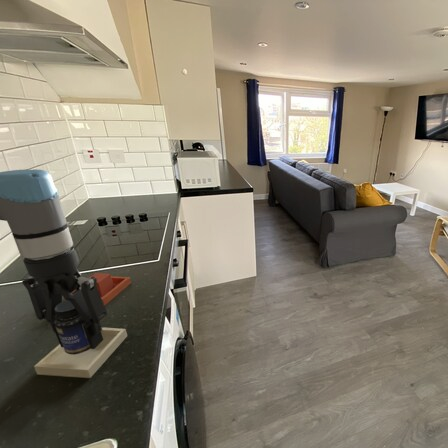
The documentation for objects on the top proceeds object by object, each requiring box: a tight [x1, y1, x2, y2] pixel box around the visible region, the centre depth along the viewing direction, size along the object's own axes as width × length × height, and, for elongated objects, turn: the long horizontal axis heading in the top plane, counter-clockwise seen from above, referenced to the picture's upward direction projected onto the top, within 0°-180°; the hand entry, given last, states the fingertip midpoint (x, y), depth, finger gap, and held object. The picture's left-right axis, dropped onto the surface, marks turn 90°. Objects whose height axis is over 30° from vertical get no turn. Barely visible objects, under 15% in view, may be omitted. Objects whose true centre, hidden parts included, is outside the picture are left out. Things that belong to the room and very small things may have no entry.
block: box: [87, 272, 114, 297], centre depth 80 cm, size 5×5×5 cm
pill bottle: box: [54, 300, 91, 355], centre depth 57 cm, size 6×6×11 cm
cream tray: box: [33, 327, 128, 379], centre depth 59 cm, size 12×12×2 cm
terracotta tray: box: [63, 275, 132, 306], centre depth 81 cm, size 12×12×2 cm
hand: (82, 343), depth 59 cm, fingers closed on pill bottle, 6 cm apart
